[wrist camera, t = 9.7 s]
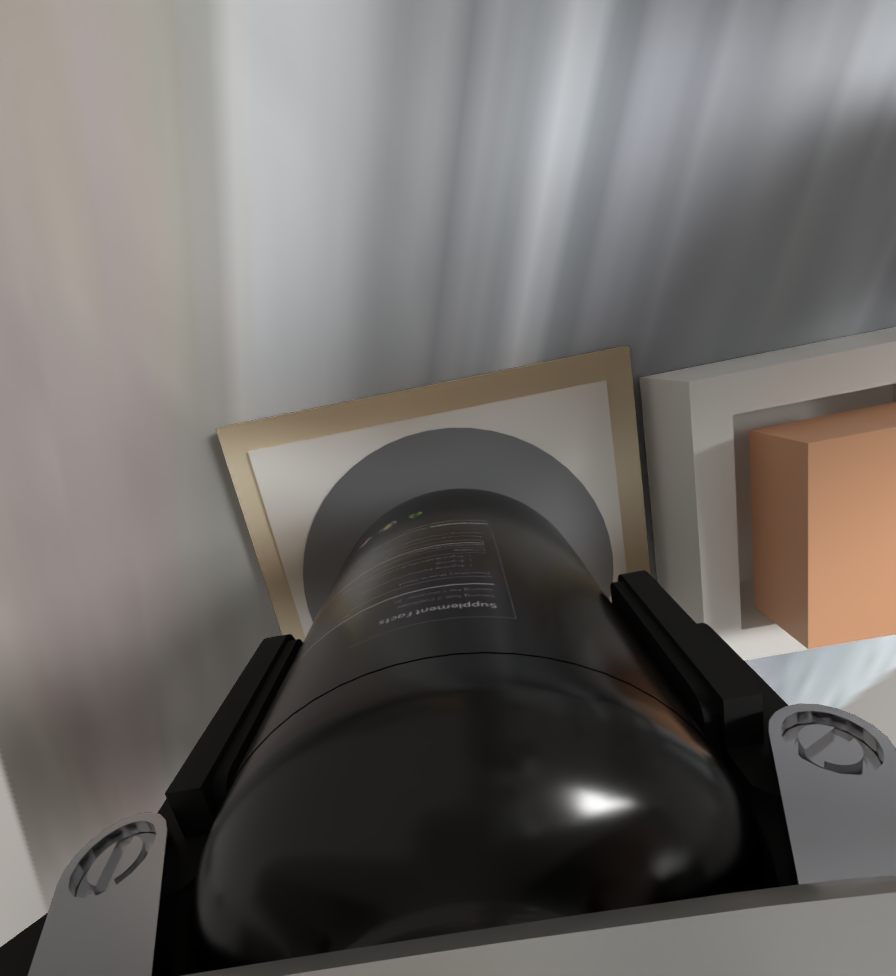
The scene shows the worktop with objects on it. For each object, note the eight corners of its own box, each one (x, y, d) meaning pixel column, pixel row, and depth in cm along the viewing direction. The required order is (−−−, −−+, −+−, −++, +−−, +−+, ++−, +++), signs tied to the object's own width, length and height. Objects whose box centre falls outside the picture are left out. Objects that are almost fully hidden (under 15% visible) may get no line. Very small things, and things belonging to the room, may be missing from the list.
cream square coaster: (228, 425, 15) (210, 430, 13) (619, 346, 14) (633, 345, 13) (328, 744, 18) (321, 768, 17) (653, 688, 17) (666, 710, 16)
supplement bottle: (621, 630, 14) (1498, 1980, 2) (422, 732, 15) (346, 2074, 3) (505, 430, 12) (1431, 1527, 1) (291, 557, 13) (-772, 1951, 2)
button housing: (639, 377, 14) (688, 381, 11) (911, 323, 14) (1034, 313, 11) (660, 612, 16) (707, 666, 13) (898, 570, 16) (999, 616, 13)
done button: (749, 429, 12) (807, 443, 10) (954, 390, 12) (1055, 396, 10) (754, 606, 13) (808, 649, 11) (939, 574, 13) (1026, 611, 11)
